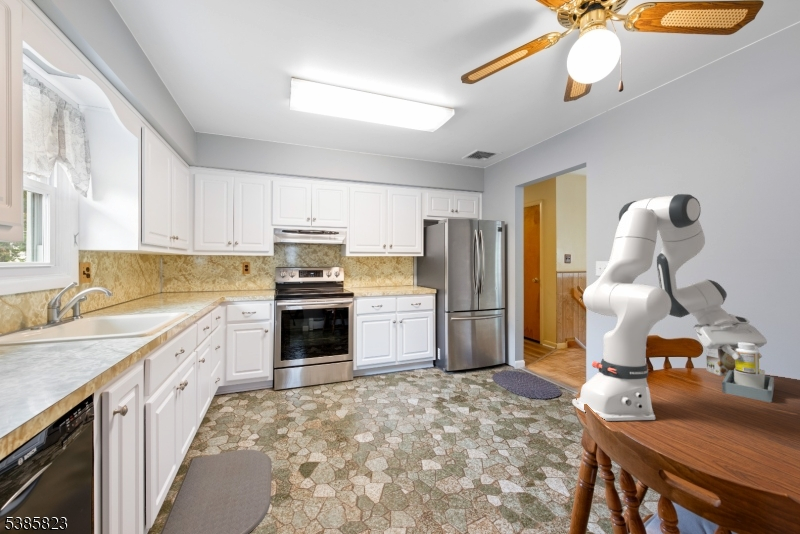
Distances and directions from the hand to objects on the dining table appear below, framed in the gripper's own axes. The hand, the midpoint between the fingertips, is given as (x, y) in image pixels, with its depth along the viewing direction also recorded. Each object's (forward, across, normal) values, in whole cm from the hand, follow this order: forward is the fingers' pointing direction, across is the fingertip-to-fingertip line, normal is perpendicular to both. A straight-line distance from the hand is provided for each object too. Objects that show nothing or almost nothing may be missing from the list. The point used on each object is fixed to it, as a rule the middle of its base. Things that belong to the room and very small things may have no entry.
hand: (748, 358), depth 108 cm
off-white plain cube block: (+4, +7, +13) cm, 15 cm away
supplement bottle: (+4, 0, +4) cm, 6 cm away
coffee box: (-5, +14, +24) cm, 28 cm away
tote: (+7, +4, +12) cm, 14 cm away
